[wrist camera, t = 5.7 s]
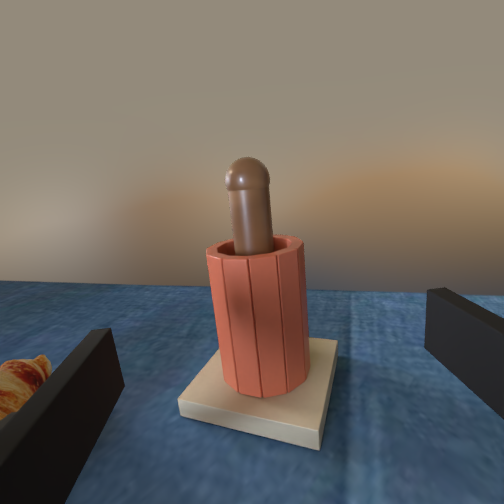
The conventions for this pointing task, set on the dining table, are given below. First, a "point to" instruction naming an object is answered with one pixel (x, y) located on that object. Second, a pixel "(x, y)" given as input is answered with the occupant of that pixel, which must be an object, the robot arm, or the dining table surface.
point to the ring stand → (211, 376)
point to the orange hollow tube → (261, 316)
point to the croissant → (21, 382)
